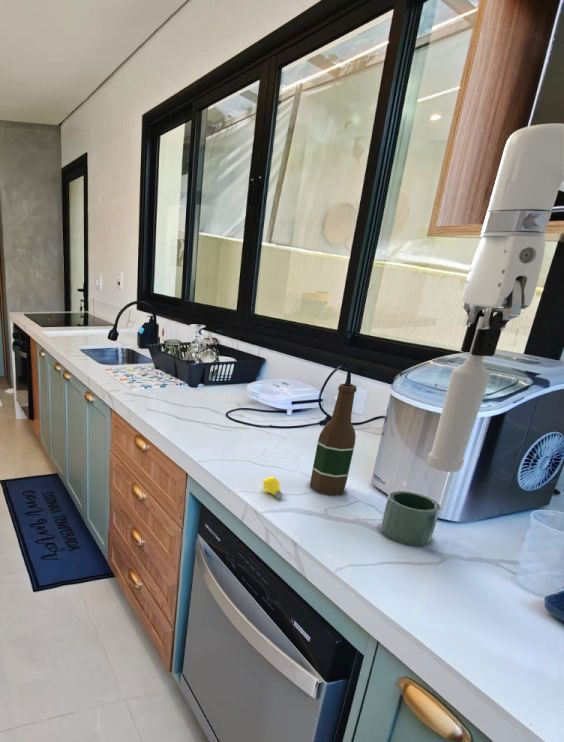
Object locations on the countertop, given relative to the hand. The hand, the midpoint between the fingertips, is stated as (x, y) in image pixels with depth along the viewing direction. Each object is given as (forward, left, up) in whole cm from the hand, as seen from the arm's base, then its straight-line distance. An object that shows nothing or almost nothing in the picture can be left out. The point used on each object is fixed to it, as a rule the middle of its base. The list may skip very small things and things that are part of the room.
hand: (476, 353), depth 80 cm
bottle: (0, 0, -20) cm, 20 cm away
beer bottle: (+10, -23, -35) cm, 43 cm away
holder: (+1, -4, -35) cm, 35 cm away
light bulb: (+23, -18, -35) cm, 46 cm away
